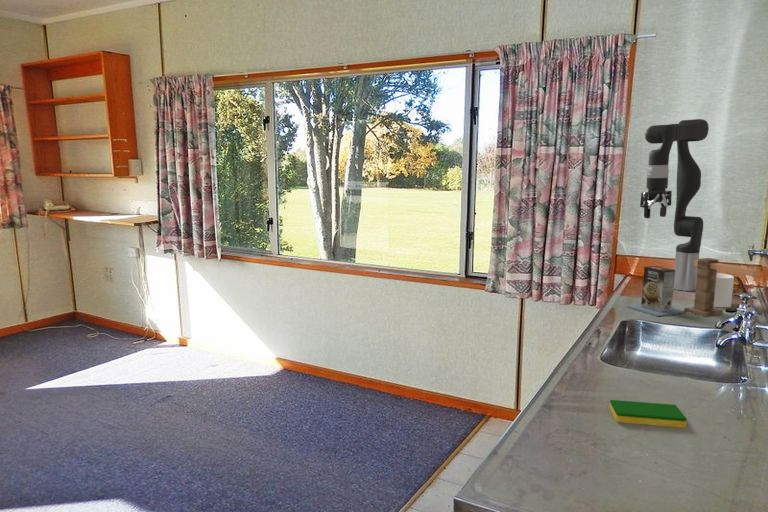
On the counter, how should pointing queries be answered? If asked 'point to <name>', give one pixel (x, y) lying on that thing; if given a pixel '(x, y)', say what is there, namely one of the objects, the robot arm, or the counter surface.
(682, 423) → the dish sponge
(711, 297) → the guide stand
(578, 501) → the counter surface
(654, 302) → the coffee box
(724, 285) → the cup
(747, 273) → the bar
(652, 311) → the rubber mat
